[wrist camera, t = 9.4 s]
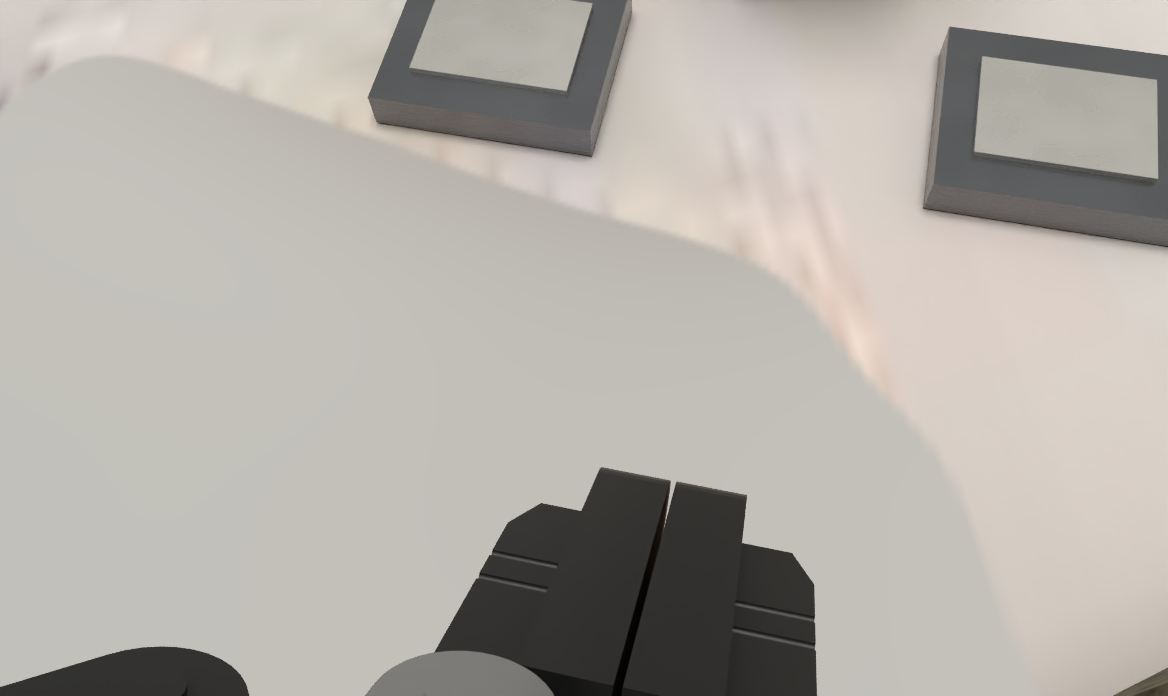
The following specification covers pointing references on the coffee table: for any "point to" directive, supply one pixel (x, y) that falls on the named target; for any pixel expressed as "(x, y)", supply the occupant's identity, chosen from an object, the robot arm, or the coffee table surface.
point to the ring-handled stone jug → (1149, 686)
